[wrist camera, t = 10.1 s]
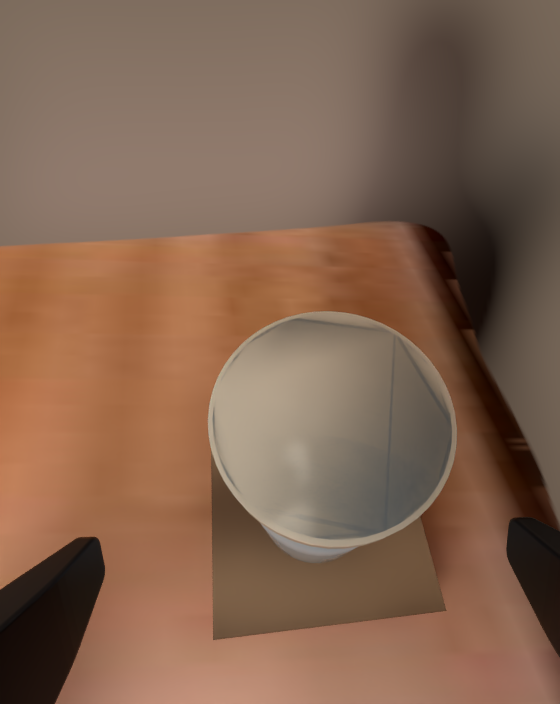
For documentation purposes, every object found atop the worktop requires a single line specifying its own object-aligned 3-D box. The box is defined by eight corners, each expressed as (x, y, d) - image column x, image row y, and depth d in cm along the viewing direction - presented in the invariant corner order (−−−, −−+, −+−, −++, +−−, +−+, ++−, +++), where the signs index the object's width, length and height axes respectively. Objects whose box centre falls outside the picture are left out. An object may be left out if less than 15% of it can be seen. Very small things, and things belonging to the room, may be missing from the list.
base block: (426, 606, 19) (446, 610, 16) (225, 631, 19) (213, 639, 16) (378, 417, 24) (387, 397, 21) (220, 435, 24) (210, 418, 21)
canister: (379, 560, 17) (495, 533, 7) (261, 570, 17) (203, 557, 7) (358, 444, 20) (419, 303, 10) (256, 453, 20) (211, 320, 10)
